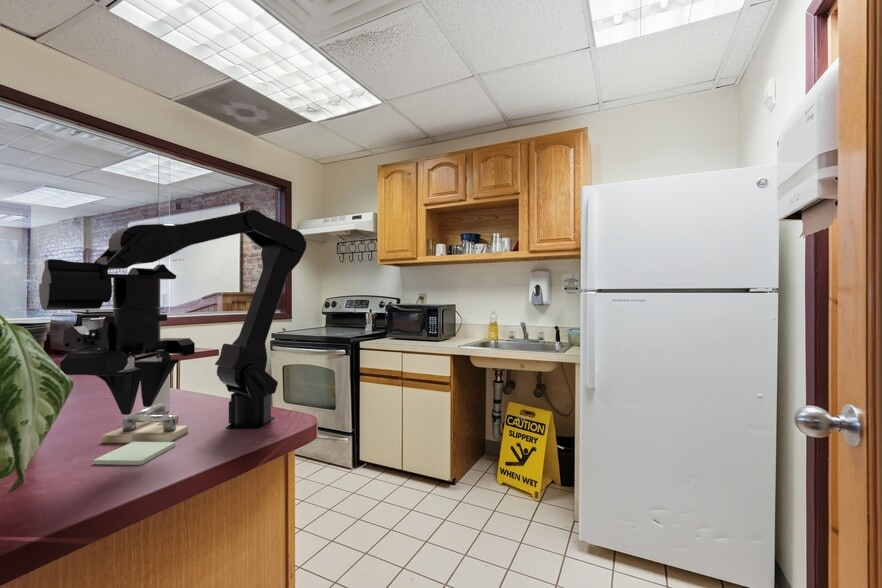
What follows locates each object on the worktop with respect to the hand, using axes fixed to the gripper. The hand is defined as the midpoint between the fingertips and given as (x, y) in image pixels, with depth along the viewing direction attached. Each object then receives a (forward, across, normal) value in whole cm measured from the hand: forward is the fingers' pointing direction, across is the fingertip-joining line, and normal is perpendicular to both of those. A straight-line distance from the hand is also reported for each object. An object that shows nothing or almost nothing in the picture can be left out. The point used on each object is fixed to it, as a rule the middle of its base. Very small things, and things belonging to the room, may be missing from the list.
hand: (137, 410), depth 59 cm
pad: (+7, 0, 0) cm, 7 cm away
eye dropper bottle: (+7, -21, -13) cm, 26 cm away
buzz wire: (+7, -10, -4) cm, 13 cm away
